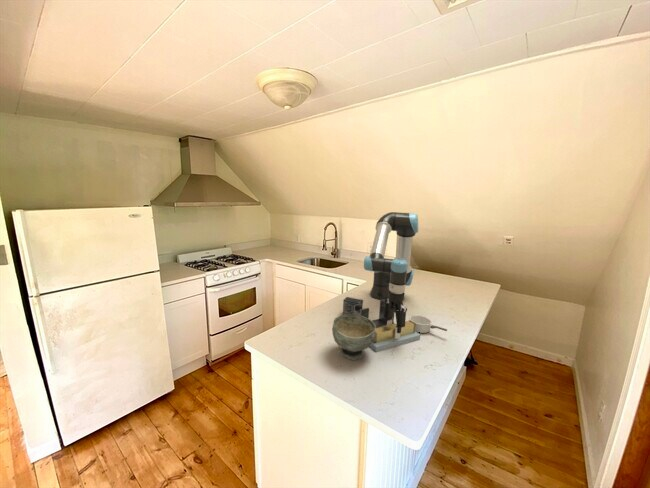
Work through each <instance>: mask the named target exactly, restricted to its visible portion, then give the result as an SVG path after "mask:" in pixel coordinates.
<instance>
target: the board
mask: <svg viewBox="0 0 650 488" xmlns="http://www.w3.org/2000/svg"><path fill="white" fill-rule="evenodd" d="M419 339H420V340H421V333H419V332H416V331H415V333H412V334H408V335H404V336H401V337H400V338H398V339H394V338H393V339H389V340H386V341H382V342H378V343H375V344H374V343H372V344H371V345H370V346H369V347H370V349H372V350H373V351H375V353H377V352H381V351H384V350H388V349H391V348H392V349H393V348H394V347H398V346H402V345H406V344H408V343H412V342H416V341H419Z"/></svg>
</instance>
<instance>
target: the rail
mask: <svg viewBox="0 0 650 488" xmlns="http://www.w3.org/2000/svg"><path fill="white" fill-rule="evenodd" d="M395 326H397V323H394V324H392V325H389V326H383V327H379V328H375V337H374V340H373V343H374V344H375V343H378V342H382V341H386V340H389V339H393V338H394V336H395ZM415 327H416V323H414V322H412V321H411V320H410V319H409V320H405V327H402V328H401V333H400V337H401V336H404V335H408V334H412V333H415V332H416V331H415Z"/></svg>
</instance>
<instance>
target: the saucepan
mask: <svg viewBox="0 0 650 488" xmlns="http://www.w3.org/2000/svg"><path fill="white" fill-rule="evenodd" d="M409 320H411V321H412V322H414V323H416V327H415V332H417V333H419V332H420V333H419V334H425V333H429V332H430V331H431V329H438V330H442V331H445V332H447V331H448V329H447V328H444V327H442V326H437V325H434V324H432V320H431V319H430V318H428V317H426V316H423V315H411V316H410V317H409Z"/></svg>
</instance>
